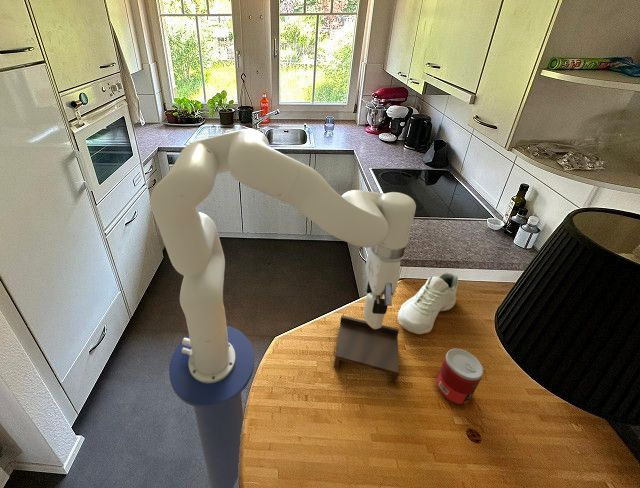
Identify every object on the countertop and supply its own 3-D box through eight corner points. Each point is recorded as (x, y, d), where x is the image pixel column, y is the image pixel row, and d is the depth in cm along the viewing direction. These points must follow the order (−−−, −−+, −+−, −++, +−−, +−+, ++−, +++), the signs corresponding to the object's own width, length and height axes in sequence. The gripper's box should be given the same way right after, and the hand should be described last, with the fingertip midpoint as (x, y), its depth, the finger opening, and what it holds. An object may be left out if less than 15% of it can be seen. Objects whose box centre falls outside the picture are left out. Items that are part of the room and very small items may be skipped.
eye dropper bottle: (379, 313, 86) (387, 280, 81) (381, 331, 81) (390, 297, 76) (362, 311, 87) (369, 277, 81) (363, 328, 82) (370, 294, 77)
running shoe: (385, 324, 100) (393, 292, 94) (428, 283, 116) (437, 253, 109) (417, 348, 93) (428, 315, 87) (458, 300, 109) (470, 270, 102)
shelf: (333, 367, 88) (336, 350, 85) (339, 331, 98) (341, 315, 95) (395, 384, 84) (400, 368, 81) (394, 345, 94) (398, 328, 91)
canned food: (469, 411, 78) (483, 385, 73) (434, 394, 82) (444, 368, 76) (470, 384, 84) (483, 357, 79) (437, 369, 87) (447, 343, 82)
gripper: (363, 223, 80) (354, 277, 89) (380, 271, 65) (367, 331, 74) (393, 224, 80) (382, 278, 89) (418, 272, 65) (401, 332, 73)
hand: (375, 302), depth 81 cm, fingers closed on eye dropper bottle, 5 cm apart
